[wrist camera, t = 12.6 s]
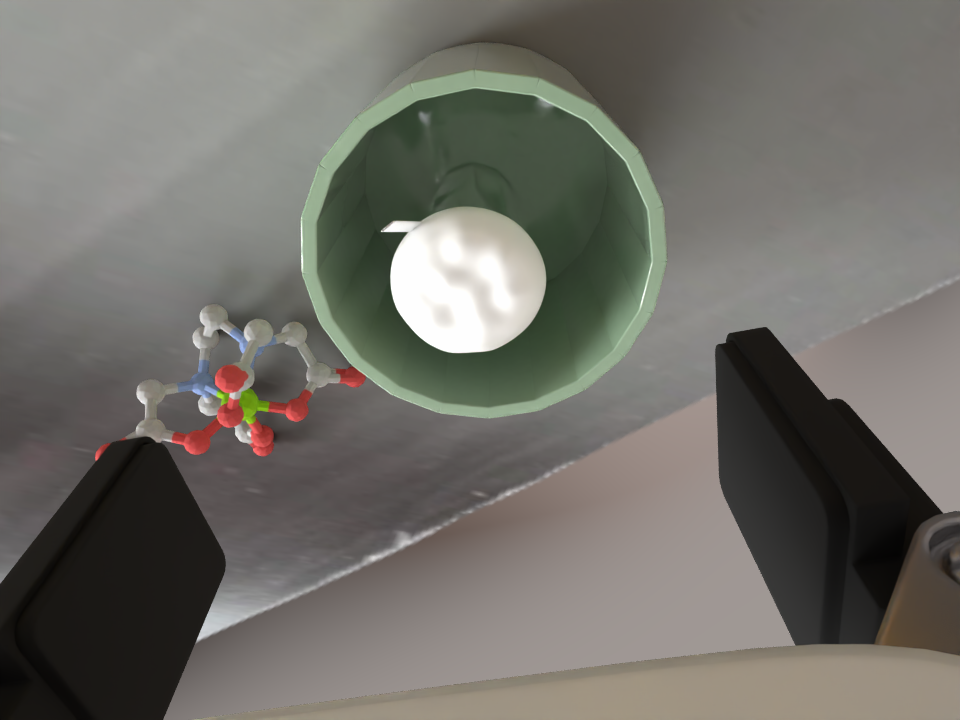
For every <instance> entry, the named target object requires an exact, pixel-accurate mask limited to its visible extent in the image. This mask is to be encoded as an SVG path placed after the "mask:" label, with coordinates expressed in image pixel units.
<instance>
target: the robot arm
mask: <svg viewBox="0 0 960 720" xmlns="http://www.w3.org/2000/svg"><path fill="white" fill-rule="evenodd" d="M715 360H716V393H717V426H718V459H719V478H720V484H721V488H722V491H723V494H724V497H725V499H726V501H727V503H728V505H729V508H730V510H731V512H732V514H733V516H734V518H735V520H736V522H737V524H738V526H739V528H740V530H741V533H742V535H743V537H744V539H745V541H746V543H747V545H748V547H749V549H750V551H751V553H752V555H753V558H754V560H755V562H756V564H757V565H758V568H759V570H760V572H761V574H762V576H763V578H764V581H765V583H766V585H767V587H768V589H769V591H770V593H771V595H772V597H773V599H774V601H775V603H776V606H777V608H778V610H779V612H780V614H781V616H782V618H783V620H784V622H785V624H786V626H787V629H788V631H789V633H790V635H791V637H792V639H793V641H794V643H795V645H796V646H785V647H770V648H756V649H745V650H736V651H727V652H717V653H708V654H699V655H690V656H681V657H672V658H665V659H655V660H645V661H636V662H629V663H620V664H612V665H605V666H597V667H589V668H580V669H573V670H565V671H557V672H549V673H541V674H533V675H526V676H518V677H510V678H502V679H494V680H486V681H478V682H471V683H463V684H455V685H447V686H440V687H432V688H424V689H417V690H410V691H401V692H394V693H386V694H379V695H371V696H364V697H356V698H349V699H341V700H333V701H326V702H319V703H311V704H304V705H297V706H289V707H281V708H274V709H267V710H259V711H252V712H244V713H237V714H230V715H222V716H215V717H208V718H201V719H194V720H960V511H954V512H949V513H944V514H943V513H942V512H941V510H940V509H939V508H938V507H937V506H936V505H935V503H934V502H933V501H932V500H931V499H930V498H929V497H928V496H927V494H926V493H925V492H924V491H923V490H922V488H921V487H920V486H919V485H918V484H917V483H916V482H915V481H914V480H913V478H912V477H911V476H910V475H909V474H908V472H907V471H906V470H905V469H904V468H903V467H902V466H901V464H900V463H899V462H898V461H897V460H896V459H895V458H894V456H893V455H892V454H891V453H890V452H889V451H888V450H887V448H886V447H885V446H884V445H883V444H882V443H881V441H880V440H879V439H878V438H877V437H876V436H875V435H874V433H873V432H872V431H871V430H870V429H869V428H868V427H867V426H866V425H865V423H864V422H863V421H862V420H861V419H860V417H859V416H858V415H857V414H856V413H855V412H854V411H853V409H852V408H851V407H850V406H849V405H848V404H847V403H846V402H844V401H843V400H841V399H837V398H836V399H830V400H828V399H827V398H826V397H825V396H824V395H823V393H822V392H821V391H820V390H819V389H818V387H817V386H816V385H815V384H814V383H813V382H812V380H811V379H810V378H809V377H808V376H807V374H806V373H805V372H804V371H803V370H802V368H801V367H800V366H799V365H798V364H797V362H796V361H795V360H794V359H793V357H792V356H791V355H790V354H789V353H788V351H787V350H786V349H785V348H784V347H783V345H782V344H781V343H780V342H779V341H778V339H777V338H776V337H775V336H774V335H773V333H772V332H771V331H770V330H769V329H768V328H767V327H762V328H756V329H751V330H745V331H739V332H734V333H729V334H728V335H727V339H726V343H723V344H718V345H717V346H716V349H715ZM225 567H226V562H225V556H224V553H223V551H222V549H221V547H220V545H219V543H218V541H217V539H216V538H215V536H214V534H213V532H212V530H211V528H210V527H209V525H208V523H207V521H206V519H205V517H204V516H203V514H202V512H201V510H200V508H199V506H198V505H197V503H196V501H195V499H194V497H193V495H192V494H191V492H190V490H189V488H188V486H187V484H186V483H185V481H184V479H183V477H182V475H181V473H180V472H179V470H178V468H177V466H176V464H175V462H174V461H173V459H172V457H171V455H170V453H169V451H168V450H167V448H166V447H165V445H163V444H162V443H159V442H157V443H156V441H155V440H154V439H152V438H151V437H148V436H143V437H137V438H132V439H126V440H120V441H116V442H112V443H111V444H110V445H109V446H108V447H107V448H106V449H105V450H104V452H103V453H102V454H101V456H100V457H99V458H98V459H97V461H96V462H95V463H94V465H93V466H92V467H91V468H90V470H89V471H88V472H87V474H86V475H85V476H84V477H83V479H82V480H81V481H80V482H79V484H78V485H77V486H76V488H75V489H74V490H73V491H72V493H71V494H70V495H69V497H68V498H67V499H66V500H65V502H64V503H63V504H62V506H61V507H60V508H59V509H58V511H57V512H56V513H55V514H54V516H53V517H52V518H51V520H50V521H49V522H48V523H47V525H46V526H45V527H44V529H43V530H42V531H41V532H40V534H39V535H38V536H37V538H36V539H35V540H34V541H33V543H32V544H31V545H30V546H29V548H28V549H27V550H26V552H25V553H24V554H23V555H22V557H21V558H20V559H19V561H18V562H17V563H16V564H15V566H14V567H13V568H12V570H11V571H10V572H9V573H8V575H7V576H6V577H5V578H4V580H3V581H2V582H1V584H0V720H163V718H164V716H165V714H166V711H167V709H168V707H169V704H170V702H171V700H172V697H173V695H174V692H175V690H176V688H177V685H178V683H179V680H180V678H181V676H182V673H183V671H184V669H185V666H186V664H187V661H188V659H189V657H190V654H191V652H192V649H193V647H194V645H195V642H196V640H197V638H198V635H199V633H200V630H201V628H202V626H203V623H204V621H205V619H206V616H207V614H208V611H209V609H210V607H211V604H212V602H213V599H214V597H215V595H216V592H217V590H218V588H219V585H220V583H221V580H222V578H223V576H224V572H225Z"/></svg>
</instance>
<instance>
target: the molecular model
mask: <svg viewBox="0 0 960 720" xmlns="http://www.w3.org/2000/svg"><path fill="white" fill-rule="evenodd" d="M200 320H201V322H202V324H203V325H204V326H202V327H199V328H198V329H196V330H195V332H194V334H193V342H194V344H195V345H196V347H197V348H199V349H200V358H199V369H198V373H196V374H195V375H194V376H193V377H192V378H191V380H190V381H187V382H180V383H174V384H168V385H163V384H162V383H161V382H159V381H157V380H154V379H149V380H145V381H143V382H141V383H140V385H139V386H138V387H137V398H138V399H139V400H140V401H141V403H143V404H145V420H143V421H141V422H140V423H139V425H138V426H137V427H136V431H135V432H133V433H131V434H130V435H128V436H126V437H124V438H123V439H121V440H126V439H132V438H137V437H143V436H148V437H151V438H152V439H154V440H155V441H156V443H157V442H159V443H160V442H161V441H162V440H164V441H169V442H173V443H177V444H182V445H185V448H186V450H187V451H188V452H190V453H191V454H196V455H198V454H202V453H205V452H206V451H207V450H208V448H209V446H210V437H211V436H212V435H213V434H214V433H215V432H217V431H218V430H219V429H220V428H221V427H222V426H225V427H235V428H236V429H235V435H236V436H237V437H238V439H239V440H240V441H241V442H244V443H248V444H249V445H251V446H252V447H253V450H254V452H255V453H256V454H257V455H260V456H267V455H268V454H270V453H271V452H272V450H273V447H274V444H273V441H272V440H273V437H274V433H273V430H272V429H271V428H270V427H268V426H265V425H261V424H260V423H259V421H258V420H257V418H256V417H255V415H254V414H255V413H256V412H257V410H258V411H267V412H275V413H283V414H286V416H287V417H288V418H289V419H290V420H293V421H300V420H303V419H304V418H305V417H306V415H307V414H308V407H307V402H308V400H309V399H310V397H311V395H312V394H313V392H314V390H315V389H316V387H323V386H325V385H327V383H347V385H349V386H351V387H359V386H360V385H361V384H363V383H364V381H365V377H366V376H365V375H364V374H363V373H361V372H360V371H359V370H357V369H356V368H355V367H353V366H352V367H349V368H348V369H332V368H329V367H328V366H327V365H326V364H324V363H321V362H320V363H318V362H317V361H316V359H315V357H314V356H313V354H312V353H311V351H310V349H309V348H308V346H307V344H306V343H305V340H306V338H307V330H306V329H305V327H304V326H303V325H302V324H301V323H298V322H291V323H288V324H287V325H286V326H285V327H284V328H283V329H282V332H281V333H279V334H275V335H273V328H272V326H271V325H270V324H269V323H268V322H267V321H265V320H262V319H254V320H252V321H250V322H249V323H248V324H247V326H246V327H245V330H244V333H243V332H242V331H241V330H239V329H238V328H237V327H235V326H234V325H233V324H231V323H230V322H229V321H227V320H228V314H227V312H226V310H225V309H224V308H223V307H222V306H220V305H216V304H210V305H208V306H206V307H204V308H203V309H202V311H201V313H200ZM217 329H222V330H224V331H225V332H226V333H228V334H229V335H230V336H232V337H233V338H234V339H236V340H237V341H238V342H239V343H240V350H241V352H242V353H243V356H242V358H241V361H240V362H237V363H234V364H232V365H226V366H223V367H222V368H220V369H219V370H218V371H217V374H216V377H215V384H216V385H215V384H214V380H213V378H212V377H211V375H210V374H208V370H209V360H210V350H211V349H213V348H215V347H216V346H217V345H218V342H219V334H218V332H217V331H216V330H217ZM282 342H284V343H285V344H287V345H289V346H293V347H297V349H298V350H299V352H300V354H301V355H302V357H303V359H304V361H305V362H306V364H307V366H308V367H309V368H308V370H307V375H306V376H307V380H308V384H307V385H306V387H305V389H304V390H303V392H302V393H301V395H300V396H299V398H298V399H292V400H290V401H289V402H288V403H287V404H285V403H276V402H268V401H260V400H258V397H257V395H256V394H255V393H254V391H253V390H252V389H250V388H249V387H251V386H252V385H253V383H254V380H255V379H254V371H253V366H254V362H255V357H257V356H259V355H260V354H261V353H262V352H263V350H264V347H267V346H270V345H274V344H278V343H282ZM189 390H192V391H193V392H194V393H196V394H198V395H202V396H201V398H200V399H199V401H198V404H199V409H200V411H201V412H202V413H204V414H206V415H207V416H211V415H216V414H217V418H216V419H215V420H213V421H212V422H211V423H210V424H209V425H208V426H207V427H206V428H205V429H204V430H202V431H200V430H196V431H192V432H190V433H189V434H183V433H179V432H174V431H169V430H166V429H165V426H164V424H163V423H162V422H161V421H160V420H158V419H157V404H158V403H160V402H161V401H162V400H163V399H164V396H165V395H167V394H172V393H178V392H183V391H189ZM119 441H120V440H119ZM110 444H111V443H107V444H105V445H103V446H101V447H100V448H99V449H98V450H97V452H96V456H95V458H96V461H97V459H98V458H99V457H100V456H101V454H102V453H103V452H104V450H105V449H106V448H107V447H108V446H109V445H110Z"/></svg>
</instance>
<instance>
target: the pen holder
mask: <svg viewBox="0 0 960 720" xmlns="http://www.w3.org/2000/svg"><path fill="white" fill-rule="evenodd" d="M471 163H473V164H477V165H480V166H484V167H487V168H491V169H494V170H498V172H499V173H500V174H501V176H502V177H503V178H504V179H505V181H506V182H507V183H508V185H509V186H510V187H511V188H512V190H513V191H514V193H515V196H516V198H517V201H518V204H519V206H520V209H521V212H522V214H523V217H524V220H525V222H526V225H527V228H528V230H529V232H530V234H531V236H532V238H533V240H534V242H535V244H536V246H537V248H538V250H539V252H540V254H541V256H542V259H543V262H544V266H545V271H546V289H545V294H544V297H543V300H542V303H541V306H540V308H539V310H538V312H537V314H536V316H535V318H534V319H533V321H532V322H531V323H530V324H529V326H528V327H527V328H526V329H525V330H524V331H523V332H522V333H521V334H519V335H518V336H517V337H515V338H514V339H513V340H511V341H510V342H508V343H506V344H505V345H503V346H501V347H499V348H497V349H494V350H490V351H485V352H470V353H451V352H446V351H443V350H440V349H438V348H436V347H434V346H432V345H430V344H428V343H427V342H425V341H424V340H423V339H421V338H420V337H419V336H418V335H417V334H416V333H415V332H414V331H413V330H412V329H411V328H410V326H409V325H408V324H407V323H406V322H405V320H404V319H403V318H402V316H401V315H400V313H399V312H398V310H397V308H396V305H395V303H394V300H393V296H392V291H391V282H390V274H391V266H392V261H393V257H394V255H395V252H396V250H397V248H398V246H399V244H400V243H401V241H402V240H403V238H404V237H405V236H406V234H407V233H408V232H382V229H383V228H385V227H386V226H387V225H388V224H389V223H391V222H392V221H394V220H399V221H416V220H417V219H418V218H419V216H420V215H421V214H422V212H423V211H424V210H425V209H426V207H427V205H428V203H429V201H430V200H431V198H432V196H433V195H434V193H435V191H436V190H437V188H438V187H439V185H440V184H441V182H442V180H443V179H444V177H445V176H446V174H447V173H448V172H450V171H453V170H456V169H458V168H461V167H463V166H466V165H469V164H471ZM301 218H302V219H301V262H302V275H303V278H304V281H305V284H306V287H307V289H308V292H309V295H310V298H311V301H312V303H313V306H314V309H315V312H316V315H317V317H318V320H319V322H320V324H321V326H322V327H323V328H324V330H325V331H326V332H327V334H328V335H329V336H330V338H331V339H332V340H333V342H334V343H335V344H336V346H337V347H338V348H339V350H340V351H341V352H342V354H343V355H344V356H345V358H346V359H347V360H348V362H349V363H350V364H352V366H353V367H355V368H356V369H357V370H359V371H360V372H361V373H363V374H364V375H365V376H367V377H368V378H369V379H371V380H372V381H373V382H375V383H376V384H378V385H379V386H380V387H382V388H383V389H384V390H386V391H387V392H388V393H390V394H392V395H393V396H395V397H398V398H401V399H403V400H406V401H408V402H411V403H414V404H416V405H419V406H421V407H424V408H427V409H429V410H432V411H434V412H437V413H439V412H440V413H441V414H451V415H460V416H470V417H479V418H496V417H503V416H509V415H515V414H522V413H528V412H534V411H539V410H542V409H544V408H546V407H549V406H551V405H553V404H555V403H558V402H560V401H562V400H564V399H566V398H569V397H571V396H573V395H575V394H578V393H580V392H582V391H584V390H585V389H587V388H588V387H590V386H591V385H592V384H593V383H594V382H596V381H597V380H598V379H599V378H600V377H602V376H603V375H604V374H605V373H606V372H607V371H609V370H610V369H611V368H612V367H613V366H615V365H616V364H617V363H618V362H619V361H621V360H622V359H623V358H624V356H626V354H627V353H628V351H629V350H630V348H631V347H632V345H633V344H634V342H635V341H636V339H637V337H638V336H639V334H640V333H641V331H642V330H643V328H644V327H645V325H646V324H647V322H648V321H649V319H650V317H651V316H652V314H653V312H654V309H655V306H656V302H657V298H658V294H659V291H660V287H661V283H662V280H663V276H664V272H665V269H666V265H667V245H666V230H665V215H664V206H663V202H662V200H661V197H660V195H659V193H658V190H657V188H656V186H655V184H654V181H653V179H652V177H651V174H650V172H649V170H648V168H647V165H646V163H645V161H644V158H643V156H642V154H641V152H640V151H639V149H638V148H637V147H636V146H635V144H634V143H633V142H632V141H631V140H630V139H629V138H628V136H627V135H626V134H625V133H624V132H623V131H622V129H621V128H620V127H619V126H618V125H617V124H616V123H615V121H614V120H613V119H612V118H611V117H610V116H609V115H608V113H607V112H606V111H605V110H604V109H603V108H602V106H601V105H600V104H599V103H598V102H597V101H596V100H595V99H594V97H593V96H592V95H591V94H590V93H589V92H588V91H587V90H586V89H585V88H584V87H583V86H582V85H581V84H580V83H579V82H578V80H577V79H576V78H575V77H574V76H573V75H572V74H571V73H570V72H569V71H568V70H567V69H565V68H564V67H562V66H560V65H558V64H556V63H555V62H553V61H552V60H550V59H548V58H546V57H544V56H542V55H540V54H538V53H535V52H533V51H531V50H529V49H527V48H526V49H525V48H524V47H517V46H514V45H508V44H501V43H485V42H477V43H471V44H465V45H458V46H455V47H451V48H448V49H445V50H441V51H437V52H435V53H432V54H431V55H429V56H428V57H426V58H424V59H422V60H421V61H419V62H418V63H416V64H415V65H413V66H411V67H410V68H408V69H407V70H405V71H404V72H402V73H401V74H399V75H398V76H397V77H395V78H394V79H393V80H392V81H391V82H390V83H389V84H388V85H387V86H386V87H385V88H384V89H383V90H382V91H381V92H380V93H379V94H378V95H377V96H376V97H375V98H374V99H373V100H372V101H371V102H370V103H369V104H368V105H367V106H366V107H365V108H364V109H363V110H362V111H361V112H360V113H359V114H358V115H357V116H356V117H355V118H354V120H353V121H352V122H351V123H350V125H349V126H348V127H347V128H346V130H345V131H344V132H343V134H342V135H341V136H340V137H339V139H338V140H337V141H336V142H335V144H334V145H333V146H332V148H331V149H330V150H329V151H328V153H327V154H326V155H325V156H324V158H323V159H322V160H321V162H320V164H319V165H318V168H317V171H316V174H315V177H314V180H313V183H312V186H311V189H310V192H309V195H308V198H307V201H306V204H305V207H304V210H303V213H302V216H301Z"/></svg>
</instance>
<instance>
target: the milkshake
mask: <svg viewBox="0 0 960 720" xmlns="http://www.w3.org/2000/svg"><path fill="white" fill-rule="evenodd" d="M382 232H408V233H407V234H406V236H405V237H404V238H403V240H402V241H401V243H400V244H399V246H398V248H397V250H396V252H395V255H394V257H393V261H392V266H391V274H390V282H391V291H392V296H393V300H394V303H395V305H396V308H397V310H398V312H399V313H400V315H401V316H402V318H403V319H404V320H405V322H406V323H407V324H408V325H409V326H410V328H411V329H412V330H413V331H414V332H415V333H416V334H417V335H418V336H419V337H420V338H421V339H423V340H424V341H425V342H427V343H428V344H430V345H432V346H434V347H436V348H438V349H440V350H443V351H446V352H451V353H470V352H485V351H490V350H494V349H497V348H499V347H501V346H503V345H505V344H506V343H508V342H510V341H511V340H513V339H514V338H515V337H517V336H518V335H519V334H521V333H522V332H523V331H524V330H525V329H526V328H527V327H528V326H529V324H530V323H531V322H532V321H533V319H534V318H535V316H536V314H537V312H538V310H539V308H540V306H541V303H542V300H543V297H544V294H545V289H546V271H545V266H544V262H543V259H542V256H541V254H540V252H539V250H538V248H537V246H536V244H535V242H534V240H533V238H532V236H531V234H530V232H529V230H528V228H527V225H526V222H525V220H524V217H523V214H522V212H521V209H520V206H519V204H518V201H517V198H516V196H515V193H514V191H513V190H512V188H511V187H510V186H509V185H508V183H507V182H506V181H505V179H504V178H503V177H502V176H501V174H500V173H499V172H498V170H494V169H491V168H487V167H484V166H480V165H477V164H473V163H471V164H469V165H466V166H463V167H461V168H458V169H456V170H453V171H450V172H448V173H447V174H446V176H445V177H444V179H443V180H442V182H441V184H440V185H439V187H438V188H437V190H436V191H435V193H434V195H433V196H432V198H431V200H430V201H429V203H428V205H427V207H426V209H425V210H424V211H423V212H422V214H421V215H420V216H419V218H418V219H417V220H416V221H399V220H394V221H392V222H391V223H389V224H388V225H387V226H386V227H385V228H383V229H382Z"/></svg>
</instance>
